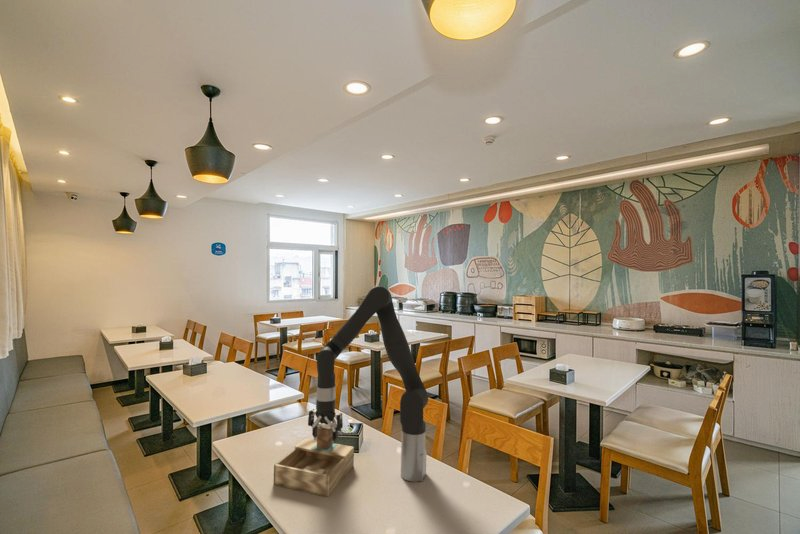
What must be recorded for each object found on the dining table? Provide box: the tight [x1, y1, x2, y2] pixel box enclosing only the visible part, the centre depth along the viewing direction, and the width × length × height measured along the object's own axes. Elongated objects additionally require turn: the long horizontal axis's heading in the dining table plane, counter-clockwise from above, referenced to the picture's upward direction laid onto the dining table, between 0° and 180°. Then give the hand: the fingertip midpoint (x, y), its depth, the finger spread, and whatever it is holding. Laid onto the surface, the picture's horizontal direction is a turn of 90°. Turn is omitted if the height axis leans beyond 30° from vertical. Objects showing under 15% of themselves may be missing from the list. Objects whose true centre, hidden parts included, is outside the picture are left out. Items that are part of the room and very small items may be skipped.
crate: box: [273, 438, 355, 498], centre depth 137 cm, size 22×21×8 cm
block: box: [317, 424, 334, 450], centre depth 143 cm, size 4×4×8 cm
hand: (324, 438), depth 143 cm, fingers open, 8 cm apart
